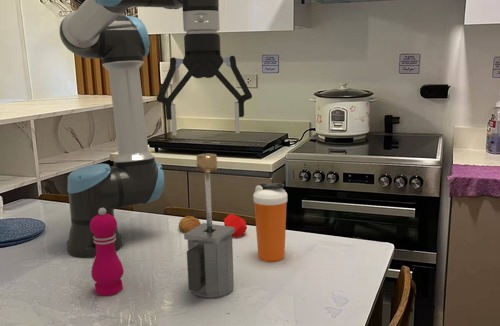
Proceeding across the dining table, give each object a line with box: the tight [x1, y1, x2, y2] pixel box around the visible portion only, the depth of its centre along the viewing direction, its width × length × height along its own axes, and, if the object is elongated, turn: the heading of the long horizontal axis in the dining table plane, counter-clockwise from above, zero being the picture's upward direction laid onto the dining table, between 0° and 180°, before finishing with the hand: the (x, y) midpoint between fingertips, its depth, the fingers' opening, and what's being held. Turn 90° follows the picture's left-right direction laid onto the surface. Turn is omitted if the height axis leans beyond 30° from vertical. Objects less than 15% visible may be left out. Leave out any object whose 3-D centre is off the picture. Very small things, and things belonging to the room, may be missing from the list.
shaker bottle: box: [252, 181, 288, 263], centre depth 138 cm, size 9×9×20 cm
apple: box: [223, 213, 248, 238], centre depth 158 cm, size 7×7×8 cm
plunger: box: [196, 153, 218, 233], centre depth 118 cm, size 7×7×20 cm
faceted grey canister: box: [183, 222, 235, 300], centre depth 119 cm, size 10×13×14 cm
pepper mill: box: [90, 208, 124, 297], centre depth 121 cm, size 7×7×20 cm
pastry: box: [177, 215, 202, 234], centre depth 162 cm, size 9×7×4 cm
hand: (206, 133), depth 114 cm, fingers open, 13 cm apart
